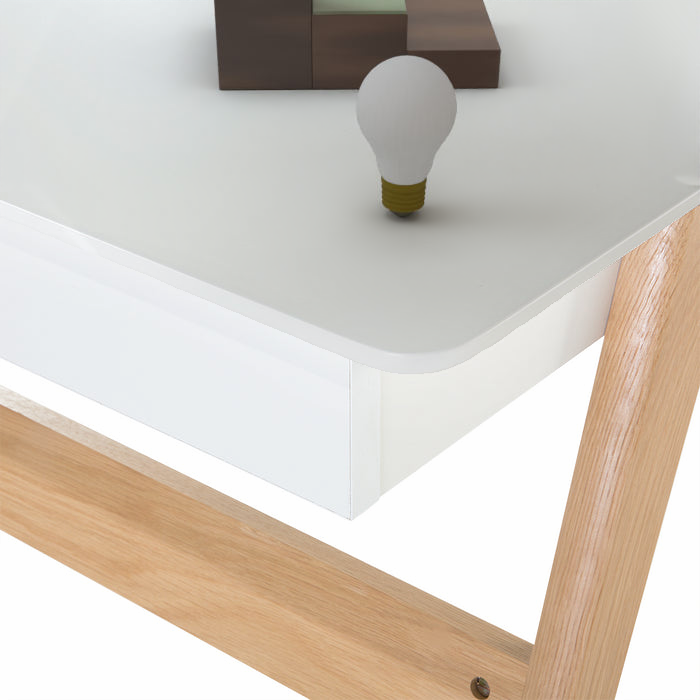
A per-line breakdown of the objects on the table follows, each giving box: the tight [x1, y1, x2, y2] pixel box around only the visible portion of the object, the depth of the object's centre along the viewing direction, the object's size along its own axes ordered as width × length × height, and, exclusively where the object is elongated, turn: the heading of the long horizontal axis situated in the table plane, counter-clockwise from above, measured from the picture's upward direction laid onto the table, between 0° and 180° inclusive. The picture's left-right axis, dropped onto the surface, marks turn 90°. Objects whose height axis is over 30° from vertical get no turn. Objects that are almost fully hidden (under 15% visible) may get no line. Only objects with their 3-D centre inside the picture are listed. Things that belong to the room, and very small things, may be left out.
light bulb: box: [355, 56, 458, 218], centre depth 73 cm, size 6×6×10 cm
